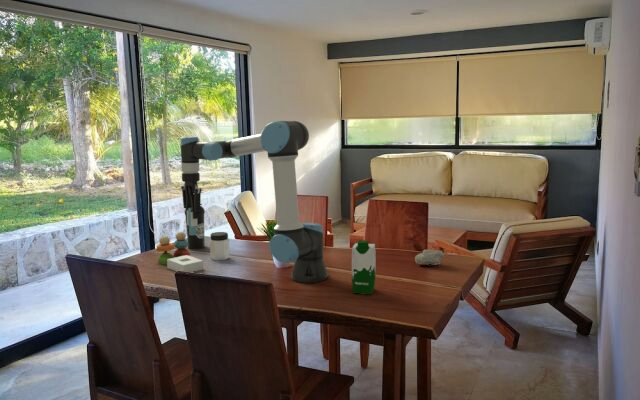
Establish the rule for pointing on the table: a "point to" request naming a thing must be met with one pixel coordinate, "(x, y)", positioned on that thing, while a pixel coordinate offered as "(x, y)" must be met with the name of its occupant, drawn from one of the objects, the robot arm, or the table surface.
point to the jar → (219, 246)
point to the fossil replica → (429, 257)
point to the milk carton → (363, 267)
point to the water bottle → (197, 231)
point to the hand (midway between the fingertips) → (192, 225)
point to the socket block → (185, 264)
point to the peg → (191, 228)
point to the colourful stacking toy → (172, 247)
